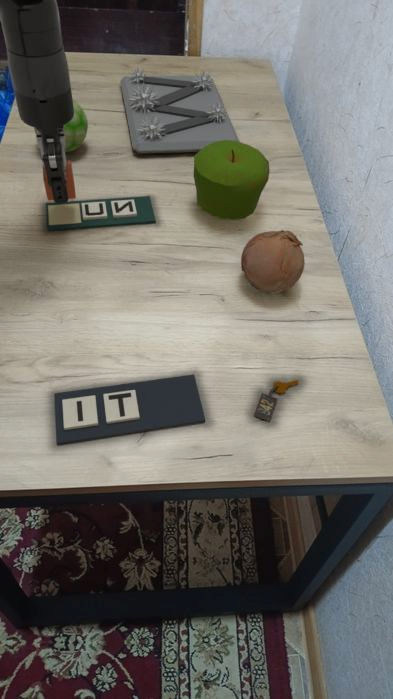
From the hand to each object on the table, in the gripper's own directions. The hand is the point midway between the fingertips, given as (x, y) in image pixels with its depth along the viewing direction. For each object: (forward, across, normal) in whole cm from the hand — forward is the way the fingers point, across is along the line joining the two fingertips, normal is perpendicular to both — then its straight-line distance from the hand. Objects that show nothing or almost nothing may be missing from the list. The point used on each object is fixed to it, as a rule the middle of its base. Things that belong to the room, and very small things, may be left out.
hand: (60, 191), depth 79 cm
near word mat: (+5, +39, +6) cm, 40 cm away
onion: (+5, +20, +30) cm, 36 cm away
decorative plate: (+5, -31, +25) cm, 40 cm away
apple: (+5, +1, +28) cm, 29 cm away
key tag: (+5, +41, +25) cm, 48 cm away
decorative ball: (+5, -21, +1) cm, 22 cm away
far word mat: (+5, 0, +6) cm, 8 cm away
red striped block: (0, 0, 0) cm, 0 cm away
